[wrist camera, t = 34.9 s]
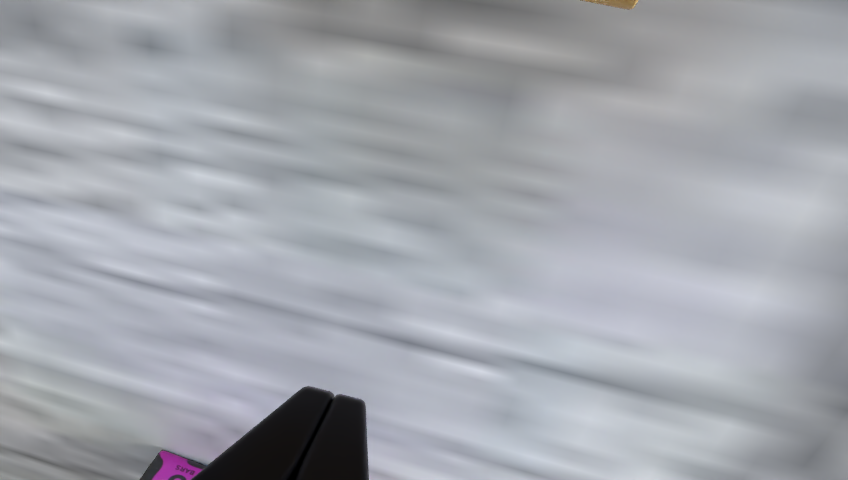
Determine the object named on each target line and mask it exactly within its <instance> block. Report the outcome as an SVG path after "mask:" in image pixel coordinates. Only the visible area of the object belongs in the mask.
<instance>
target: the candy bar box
mask: <svg viewBox="0 0 848 480" xmlns="http://www.w3.org/2000/svg"><path fill="white" fill-rule="evenodd" d="M205 467H206V466H204V465H202V464H199V463H196V462H194V461H191V460H188V459H186V458H183V457H180V456H178V455H175V454H172V453H170V452H167V451H163V450H161V451H160V452H159V453H158V455H157V456H156V458H155V459H154V460H153V462H152V463H151V464H150V466H149V467H148V469H147V470H146V471H145V473H144V474H143V476H142V477H141V479H140V480H191V479H192V478H193V477H194V476H195V475H197V474H198V473H199V472H200V471H202V470H203V469H204V468H205Z"/></svg>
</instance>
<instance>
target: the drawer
mask: <svg viewBox="0 0 848 480" xmlns="http://www.w3.org/2000/svg"><path fill="white" fill-rule="evenodd" d="M582 1H587V2H592V3H597V4H603V5H608V6H613V7H618V8H624V9H633V8H634V6H635V5H636V4H637V2H638V0H582Z"/></svg>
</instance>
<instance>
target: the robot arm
mask: <svg viewBox="0 0 848 480" xmlns="http://www.w3.org/2000/svg"><path fill="white" fill-rule="evenodd" d="M191 480H369V474H368V451H367V428H366V407H365V402H364V401H363V400H361V399H358V398H354V397H350V396H346V395H342V394H339V395H336V396H335V397H334V394H333V393H332V392H330V391H326V390H322V389H318V388H314V387H309V386H307V387H304V388H302V389H301V390H299V391H298V392H297V393H296V394H294V395H293V396H292V397H291V398H289V399H288V400H287V401H286V402H285V403H283V404H282V405H281V406H280V407H278V408H277V409H276V410H275V411H274V412H272V413H271V414H270V415H269V416H267V417H266V418H265V419H264V420H263V421H261V422H260V423H259V424H258V425H257V426H255V427H254V428H253V429H252V430H250V431H249V432H248V433H247V434H246V435H244V436H243V437H242V438H241V439H239V440H238V441H237V442H236V443H235V444H233V445H232V446H231V447H230V448H228V449H227V450H226V451H225V452H224V453H222V454H221V455H220V456H219V457H217V458H216V459H215V460H214V461H213V462H211V463H210V464H209V465H208V466H206V467H205V468H204V469H203V470H202V471H200V472H199V473H198V474H197V475H195V476H194V477H193V478H192V479H191Z"/></svg>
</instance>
